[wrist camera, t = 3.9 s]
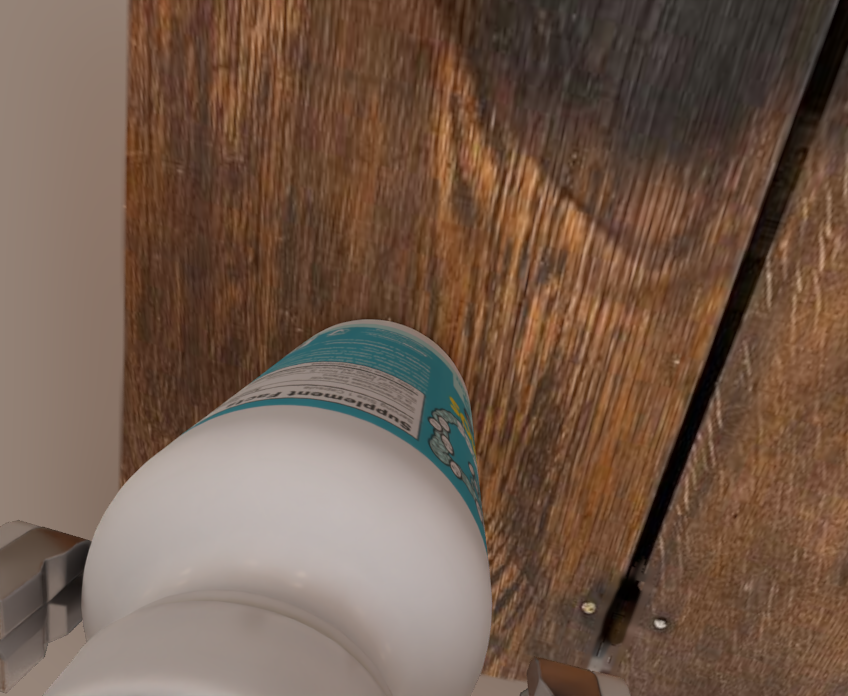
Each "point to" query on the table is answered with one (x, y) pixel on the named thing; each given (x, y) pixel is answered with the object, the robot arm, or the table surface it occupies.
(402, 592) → the pill bottle
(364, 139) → the table surface
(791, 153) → the table surface
